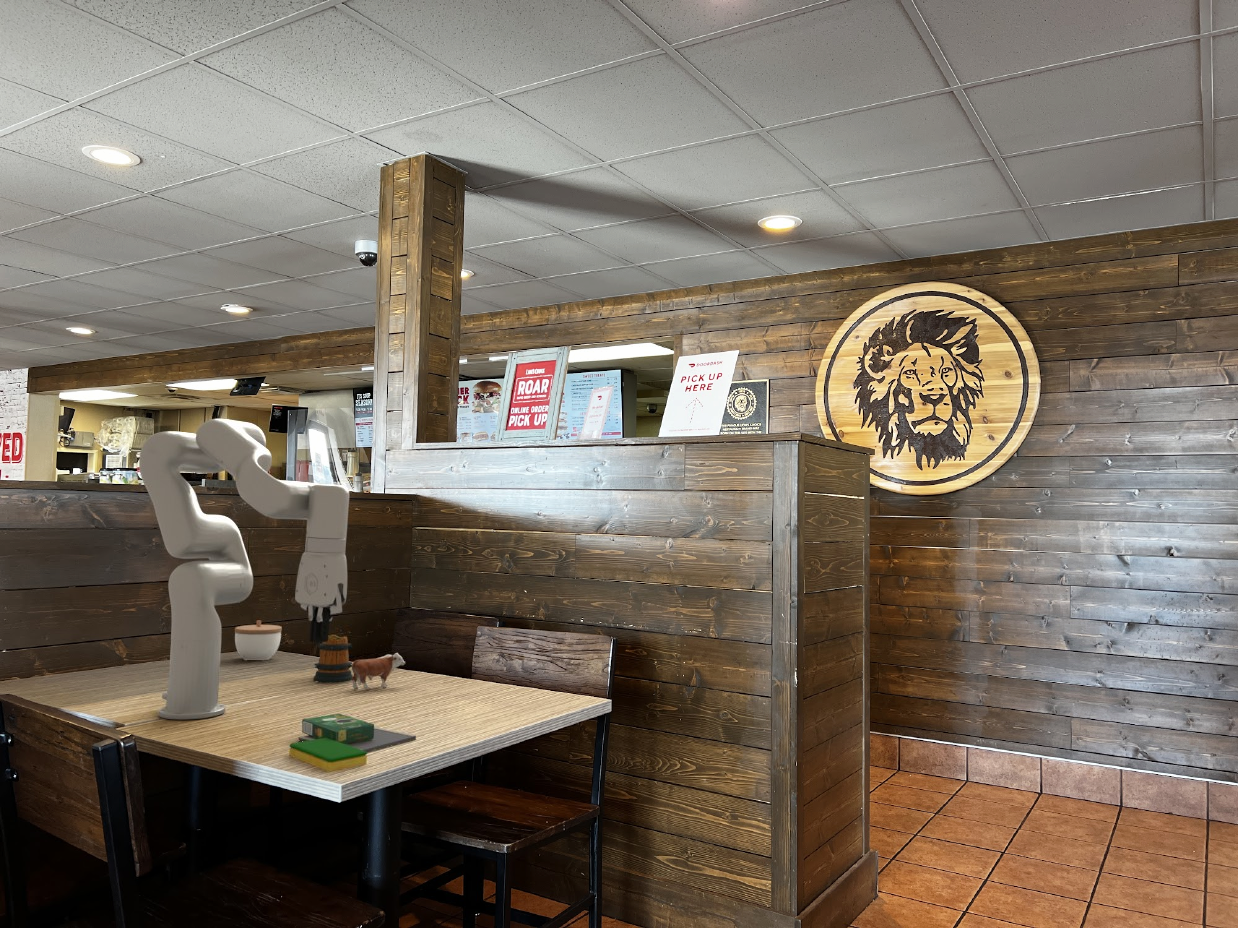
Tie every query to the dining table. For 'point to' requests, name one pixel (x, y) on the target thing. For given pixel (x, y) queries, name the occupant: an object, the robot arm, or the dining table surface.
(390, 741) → the mat
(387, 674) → the bull figurine
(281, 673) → the dining table surface
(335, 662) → the mug
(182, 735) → the dining table surface
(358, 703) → the dining table surface
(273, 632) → the lidded bowl
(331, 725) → the coffee box
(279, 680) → the dining table surface
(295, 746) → the dish sponge
